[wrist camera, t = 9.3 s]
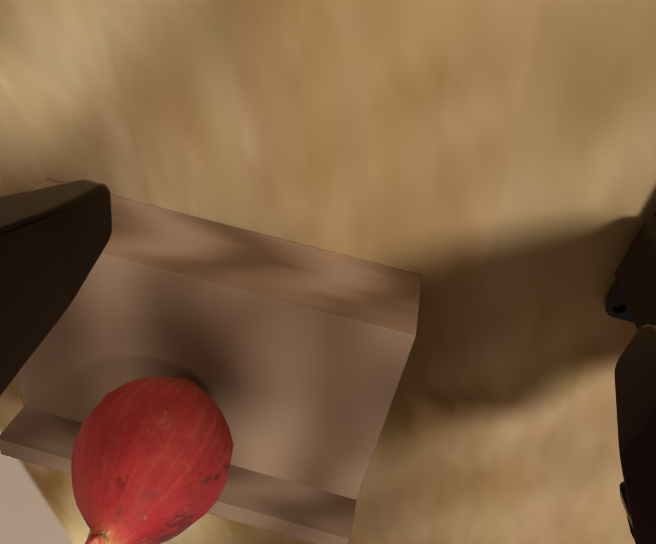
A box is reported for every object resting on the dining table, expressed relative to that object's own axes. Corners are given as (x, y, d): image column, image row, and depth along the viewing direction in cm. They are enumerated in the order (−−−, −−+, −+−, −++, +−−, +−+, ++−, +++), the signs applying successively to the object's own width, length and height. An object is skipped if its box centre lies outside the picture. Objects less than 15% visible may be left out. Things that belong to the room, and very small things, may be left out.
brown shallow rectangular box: (421, 275, 24) (412, 373, 19) (362, 448, 31) (344, 552, 26) (46, 178, 25) (-54, 249, 20) (71, 367, 32) (1, 454, 27)
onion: (280, 388, 24) (215, 578, 17) (216, 447, 27) (139, 626, 20) (163, 311, 22) (44, 484, 16) (109, 382, 26) (-9, 551, 19)
